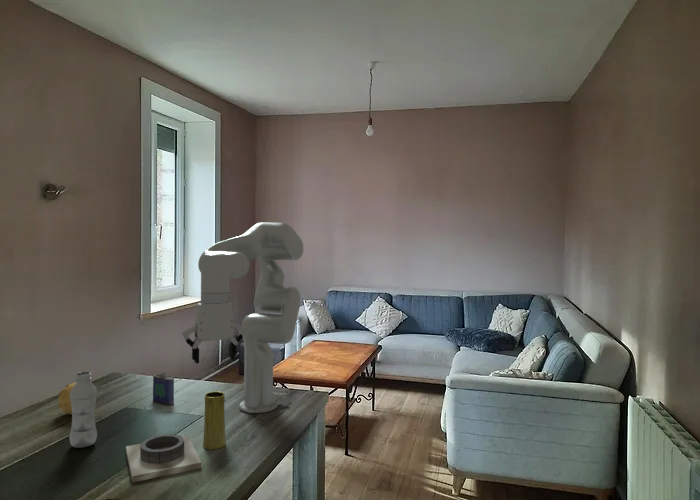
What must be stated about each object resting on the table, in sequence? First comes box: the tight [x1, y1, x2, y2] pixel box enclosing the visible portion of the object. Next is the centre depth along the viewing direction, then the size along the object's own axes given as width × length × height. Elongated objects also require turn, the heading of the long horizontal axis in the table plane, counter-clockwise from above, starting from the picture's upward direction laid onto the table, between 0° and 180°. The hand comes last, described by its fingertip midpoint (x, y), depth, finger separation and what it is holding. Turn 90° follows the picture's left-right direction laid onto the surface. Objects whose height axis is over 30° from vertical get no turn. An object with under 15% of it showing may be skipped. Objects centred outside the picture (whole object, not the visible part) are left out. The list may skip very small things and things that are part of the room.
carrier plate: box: [125, 433, 202, 483], centre depth 129 cm, size 16×18×4 cm
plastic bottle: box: [69, 371, 98, 449], centre depth 136 cm, size 6×7×20 cm
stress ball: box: [57, 382, 76, 416], centre depth 159 cm, size 10×10×10 cm
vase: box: [202, 390, 227, 450], centre depth 138 cm, size 6×6×14 cm
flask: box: [152, 371, 175, 406], centre depth 171 cm, size 9×3×11 cm, turn 61°
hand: (214, 360), depth 137 cm, fingers open, 9 cm apart
